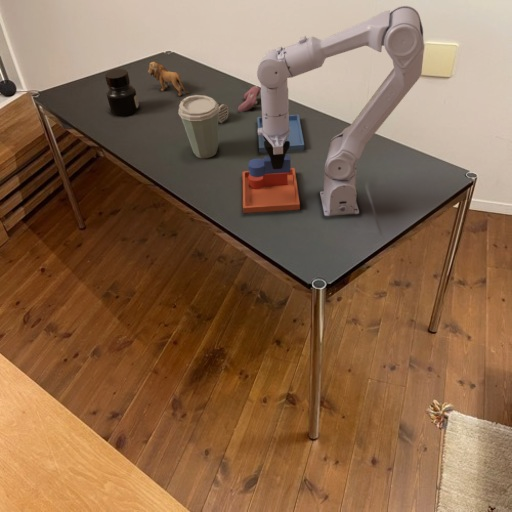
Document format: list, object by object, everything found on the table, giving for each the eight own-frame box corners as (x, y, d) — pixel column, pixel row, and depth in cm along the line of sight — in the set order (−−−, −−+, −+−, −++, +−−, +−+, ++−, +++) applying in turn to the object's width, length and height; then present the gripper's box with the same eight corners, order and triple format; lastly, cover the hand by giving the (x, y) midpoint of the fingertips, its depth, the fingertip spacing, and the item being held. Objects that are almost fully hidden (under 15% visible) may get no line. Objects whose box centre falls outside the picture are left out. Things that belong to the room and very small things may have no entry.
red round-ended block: (286, 178, 128) (286, 166, 126) (287, 187, 125) (287, 175, 123) (248, 180, 128) (247, 168, 126) (249, 189, 125) (248, 178, 123)
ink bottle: (145, 109, 162) (137, 72, 153) (123, 120, 157) (113, 82, 149) (127, 100, 167) (118, 64, 159) (105, 111, 162) (95, 74, 154)
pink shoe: (249, 118, 156) (258, 99, 152) (236, 111, 156) (245, 92, 151) (256, 103, 163) (265, 85, 159) (243, 97, 163) (251, 78, 158)
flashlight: (179, 115, 157) (176, 99, 154) (189, 108, 161) (187, 91, 157) (219, 126, 151) (217, 109, 147) (229, 118, 154) (227, 101, 150)
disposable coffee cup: (230, 145, 142) (224, 95, 132) (215, 166, 135) (208, 114, 125) (196, 140, 145) (188, 91, 135) (179, 160, 138) (169, 109, 128)
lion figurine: (149, 90, 172) (143, 64, 166) (158, 84, 175) (153, 58, 169) (185, 97, 166) (180, 70, 160) (194, 90, 169) (190, 64, 163)
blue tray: (304, 151, 138) (304, 144, 136) (259, 154, 138) (259, 147, 137) (298, 120, 150) (298, 114, 149) (257, 123, 151) (257, 117, 149)
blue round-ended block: (289, 165, 119) (289, 152, 117) (291, 174, 116) (290, 161, 114) (248, 168, 120) (247, 155, 117) (249, 177, 117) (248, 164, 114)
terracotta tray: (299, 211, 119) (299, 204, 117) (243, 214, 119) (243, 207, 118) (294, 174, 130) (294, 167, 128) (243, 178, 130) (242, 171, 129)
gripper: (255, 96, 113) (258, 149, 122) (257, 128, 102) (261, 184, 112) (286, 94, 113) (288, 147, 122) (292, 126, 102) (293, 182, 112)
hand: (277, 165), depth 117 cm, fingers closed on blue round-ended block, 2 cm apart
